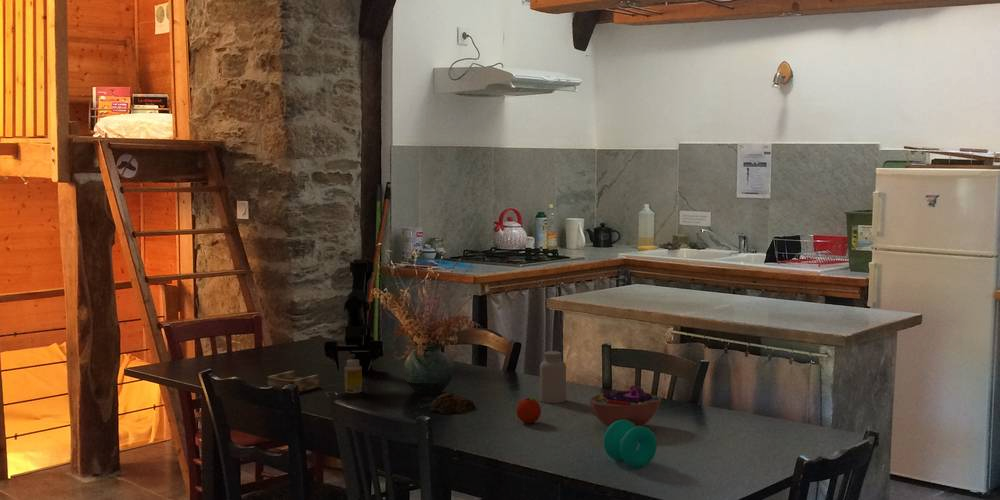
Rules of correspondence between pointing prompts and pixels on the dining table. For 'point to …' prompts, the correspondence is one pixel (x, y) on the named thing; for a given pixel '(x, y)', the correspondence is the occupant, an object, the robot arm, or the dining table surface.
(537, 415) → the tomato
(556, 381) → the pill bottle
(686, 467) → the dining table surface
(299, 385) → the caddy
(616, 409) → the cell model
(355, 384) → the supplement bottle
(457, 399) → the bread roll
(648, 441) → the green spool
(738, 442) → the dining table surface
